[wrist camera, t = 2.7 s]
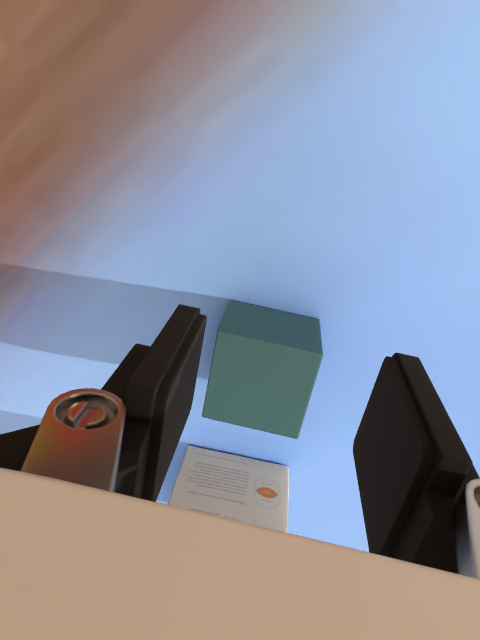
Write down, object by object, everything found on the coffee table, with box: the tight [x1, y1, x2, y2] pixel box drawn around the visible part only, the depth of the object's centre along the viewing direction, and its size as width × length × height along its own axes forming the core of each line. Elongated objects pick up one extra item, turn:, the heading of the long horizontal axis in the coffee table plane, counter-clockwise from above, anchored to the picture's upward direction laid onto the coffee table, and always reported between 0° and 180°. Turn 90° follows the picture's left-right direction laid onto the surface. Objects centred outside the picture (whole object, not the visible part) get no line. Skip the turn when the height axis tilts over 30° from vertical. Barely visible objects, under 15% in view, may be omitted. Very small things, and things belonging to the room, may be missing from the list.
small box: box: [168, 446, 289, 533], centre depth 30 cm, size 8×6×13 cm
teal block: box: [202, 300, 323, 439], centre depth 28 cm, size 6×6×5 cm
